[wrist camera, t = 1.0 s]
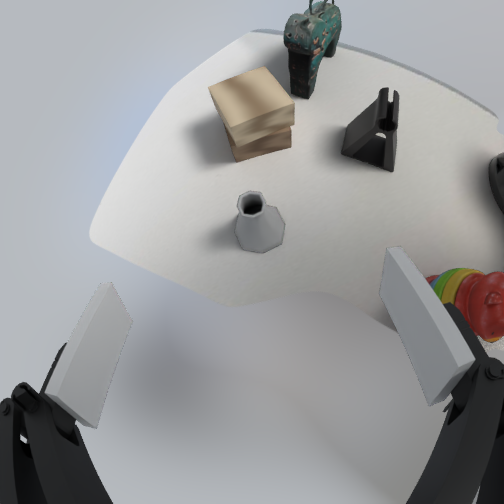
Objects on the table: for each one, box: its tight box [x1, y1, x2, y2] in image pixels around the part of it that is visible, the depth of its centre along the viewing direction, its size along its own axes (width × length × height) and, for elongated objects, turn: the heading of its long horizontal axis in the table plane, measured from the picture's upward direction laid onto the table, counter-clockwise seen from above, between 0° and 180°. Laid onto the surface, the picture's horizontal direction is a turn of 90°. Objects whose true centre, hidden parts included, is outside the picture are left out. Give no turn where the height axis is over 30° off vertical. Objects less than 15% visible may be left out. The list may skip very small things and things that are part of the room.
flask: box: [235, 191, 285, 253], centre depth 34 cm, size 7×7×10 cm
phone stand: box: [341, 88, 399, 172], centre depth 34 cm, size 9×6×12 cm, turn 70°
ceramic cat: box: [284, 0, 341, 99], centre depth 34 cm, size 20×6×20 cm, turn 152°
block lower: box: [224, 124, 291, 163], centre depth 40 cm, size 9×9×5 cm
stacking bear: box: [426, 268, 504, 343], centre depth 25 cm, size 11×10×18 cm
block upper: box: [208, 66, 295, 148], centre depth 35 cm, size 9×9×5 cm
